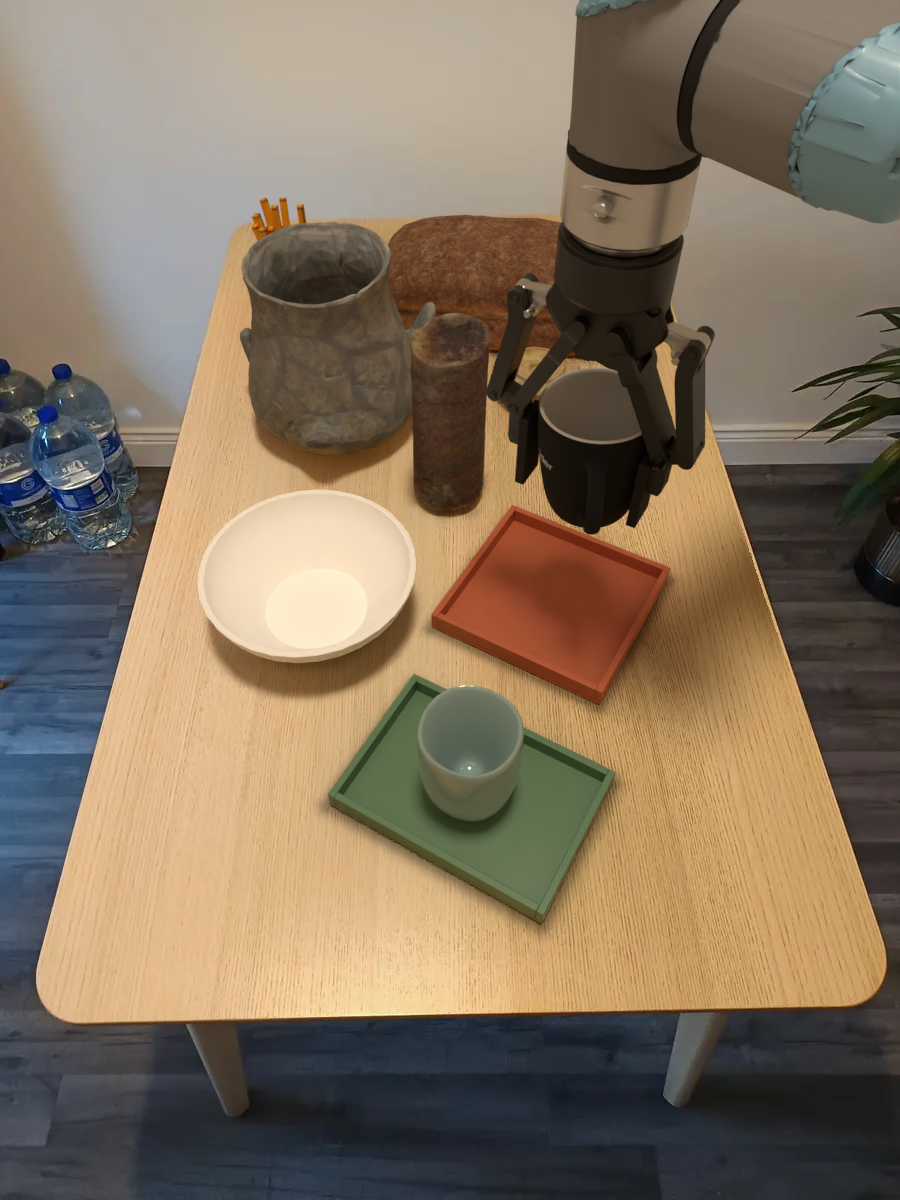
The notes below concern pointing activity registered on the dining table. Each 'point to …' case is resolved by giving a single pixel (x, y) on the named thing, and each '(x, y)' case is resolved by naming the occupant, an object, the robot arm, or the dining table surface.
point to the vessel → (327, 338)
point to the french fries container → (274, 217)
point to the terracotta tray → (552, 602)
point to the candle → (449, 409)
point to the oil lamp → (531, 362)
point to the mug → (589, 447)
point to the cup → (469, 751)
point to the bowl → (307, 575)
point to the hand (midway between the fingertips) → (580, 493)
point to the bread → (473, 269)
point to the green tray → (485, 848)
